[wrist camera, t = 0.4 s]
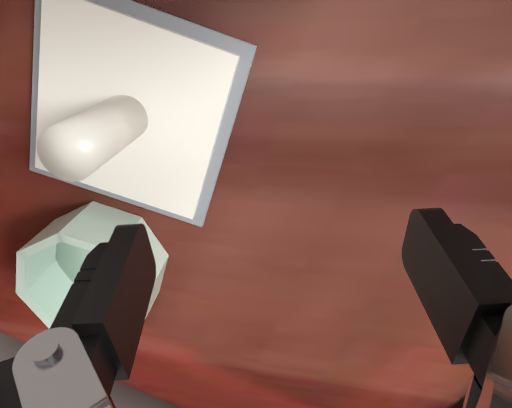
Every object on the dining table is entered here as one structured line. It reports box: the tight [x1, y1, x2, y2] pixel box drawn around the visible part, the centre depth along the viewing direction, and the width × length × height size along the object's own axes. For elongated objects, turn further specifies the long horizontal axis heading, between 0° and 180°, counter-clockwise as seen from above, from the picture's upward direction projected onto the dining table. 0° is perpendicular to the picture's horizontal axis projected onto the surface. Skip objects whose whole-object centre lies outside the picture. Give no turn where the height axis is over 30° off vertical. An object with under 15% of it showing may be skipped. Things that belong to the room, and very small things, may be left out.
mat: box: [29, 0, 257, 227], centre depth 32 cm, size 17×17×1 cm
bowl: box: [16, 201, 169, 329], centre depth 37 cm, size 12×12×6 cm
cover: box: [35, 0, 240, 220], centre depth 27 cm, size 15×15×10 cm
